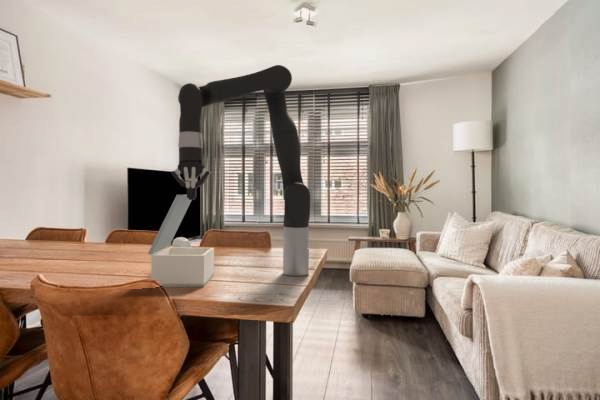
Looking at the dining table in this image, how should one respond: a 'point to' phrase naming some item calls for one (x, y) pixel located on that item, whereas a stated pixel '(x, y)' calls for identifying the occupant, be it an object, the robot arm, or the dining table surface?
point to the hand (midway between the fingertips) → (191, 199)
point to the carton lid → (170, 223)
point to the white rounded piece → (181, 243)
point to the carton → (183, 267)
